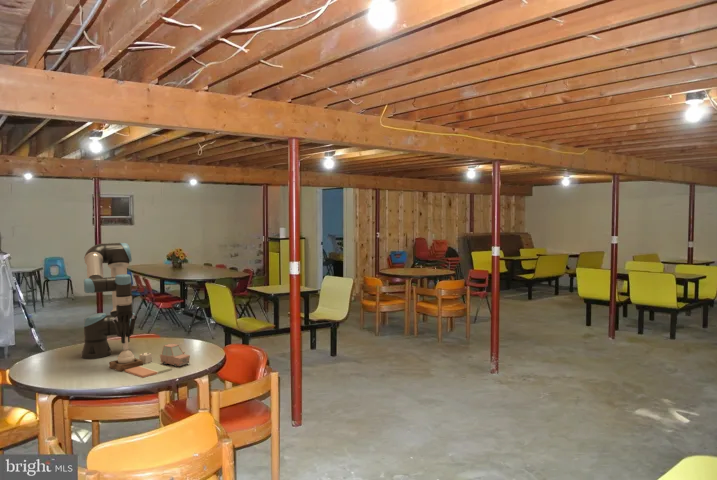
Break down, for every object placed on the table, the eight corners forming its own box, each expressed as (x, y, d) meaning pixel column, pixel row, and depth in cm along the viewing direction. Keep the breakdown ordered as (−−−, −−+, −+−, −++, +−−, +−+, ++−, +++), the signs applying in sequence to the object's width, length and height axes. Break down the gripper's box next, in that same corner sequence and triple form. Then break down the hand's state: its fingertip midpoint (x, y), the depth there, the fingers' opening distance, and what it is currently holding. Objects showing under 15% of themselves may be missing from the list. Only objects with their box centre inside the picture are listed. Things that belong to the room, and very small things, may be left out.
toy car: (178, 368, 281) (177, 349, 280) (158, 364, 289) (157, 346, 288) (192, 364, 289) (191, 345, 288) (172, 360, 297) (171, 342, 296)
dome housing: (109, 367, 284) (109, 362, 283) (131, 362, 293) (130, 356, 293) (121, 371, 276) (121, 365, 276) (143, 366, 286) (143, 360, 286)
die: (139, 362, 292) (139, 353, 292) (145, 360, 296) (145, 351, 296) (145, 363, 290) (145, 354, 290) (151, 361, 294) (151, 352, 294)
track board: (124, 371, 276) (124, 369, 276) (153, 364, 289) (153, 362, 289) (142, 377, 266) (142, 375, 266) (171, 369, 278) (171, 368, 278)
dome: (114, 363, 284) (114, 350, 284) (129, 359, 290) (129, 347, 290) (122, 365, 279) (122, 352, 279) (137, 362, 285) (137, 349, 285)
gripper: (115, 306, 275) (117, 352, 277) (139, 303, 286) (141, 347, 287) (108, 305, 280) (109, 350, 281) (132, 301, 290) (133, 345, 291)
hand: (125, 349), depth 284 cm, fingers closed
